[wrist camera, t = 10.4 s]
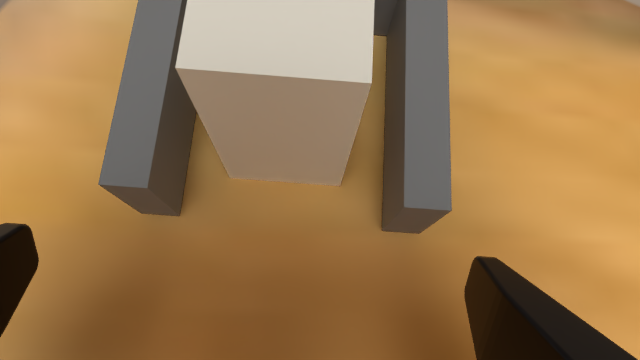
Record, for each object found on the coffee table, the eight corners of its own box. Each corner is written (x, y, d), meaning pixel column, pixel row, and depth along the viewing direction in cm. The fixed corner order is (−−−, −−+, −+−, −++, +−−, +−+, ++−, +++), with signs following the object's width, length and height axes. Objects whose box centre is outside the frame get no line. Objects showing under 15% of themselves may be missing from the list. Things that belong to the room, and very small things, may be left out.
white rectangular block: (340, 186, 19) (371, 83, 10) (229, 178, 18) (175, 67, 10) (345, 87, 20) (377, -72, 12) (242, 79, 20) (202, -87, 12)
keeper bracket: (419, 233, 18) (451, 210, 14) (141, 213, 18) (98, 184, 14) (419, 10, 21) (446, -58, 17) (182, -10, 21) (156, -83, 17)
